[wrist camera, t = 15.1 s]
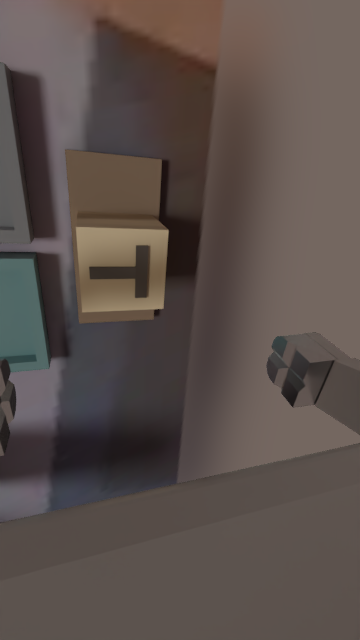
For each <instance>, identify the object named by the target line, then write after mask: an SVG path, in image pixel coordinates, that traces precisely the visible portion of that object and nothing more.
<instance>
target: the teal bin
mask: <svg viewBox="0 0 360 640" xmlns="http://www.w3.org/2000/svg"><path fill="white" fill-rule="evenodd" d="M0 359H6V360H7V361H8V363H9V366H10V370H11V372H19V371H30V370H41V369H49V367H50V361H51V354H50V347H49V340H48V333H47V326H46V318H45V311H44V304H43V297H42V290H41V283H40V276H39V269H38V262H37V255H36V252H0Z"/></svg>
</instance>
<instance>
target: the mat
mask: <svg viewBox="0 0 360 640" xmlns="http://www.w3.org/2000/svg"><path fill="white" fill-rule="evenodd" d="M65 154H66V166H67V179H68V191H69V203H70V216H71V228H72V240H73V252H74V265H75V277H76V289H77V301H78V314H79V323H95V322H114V321H133V320H151V319H154V309H149V310H126V311H103V312H82V303H81V290H80V276H79V263H78V250H77V236H76V221H77V213H78V211H82V212H103V213H123V214H144V215H153V216H154V217H155V218H156V219H157V220H158V221H159V208H160V189H161V170H162V159H153V158H143V157H133V156H123V155H114V154H104V153H94V152H85V151H75V150H65Z"/></svg>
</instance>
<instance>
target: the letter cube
mask: <svg viewBox="0 0 360 640" xmlns="http://www.w3.org/2000/svg"><path fill="white" fill-rule="evenodd" d="M168 233H169V230H168V229H167V228H166V227H165V226H164V225H163V224H161V223H160V222H159V221H158V220H157V219H156V218H155V217H154V216H153V215H144V214H123V213H103V212H82V211H78V213H77V221H76V236H77V250H78V263H79V276H80V290H81V303H82V312H103V311H126V310H149V309H163V305H164V291H165V276H166V262H167V247H168Z"/></svg>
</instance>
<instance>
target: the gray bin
mask: <svg viewBox="0 0 360 640" xmlns="http://www.w3.org/2000/svg"><path fill="white" fill-rule="evenodd" d="M33 239H34V234H33V227H32V220H31V213H30V205H29V198H28V191H27V184H26V177H25V170H24V163H23V156H22V149H21V142H20V135H19V128H18V121H17V114H16V107H15V99H14V92H13V85H12V78H11V71H10V69H9V68H8V67H7V66H6V65H5V64H4V63H1V62H0V243H23V244H31V242H32V241H33Z"/></svg>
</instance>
